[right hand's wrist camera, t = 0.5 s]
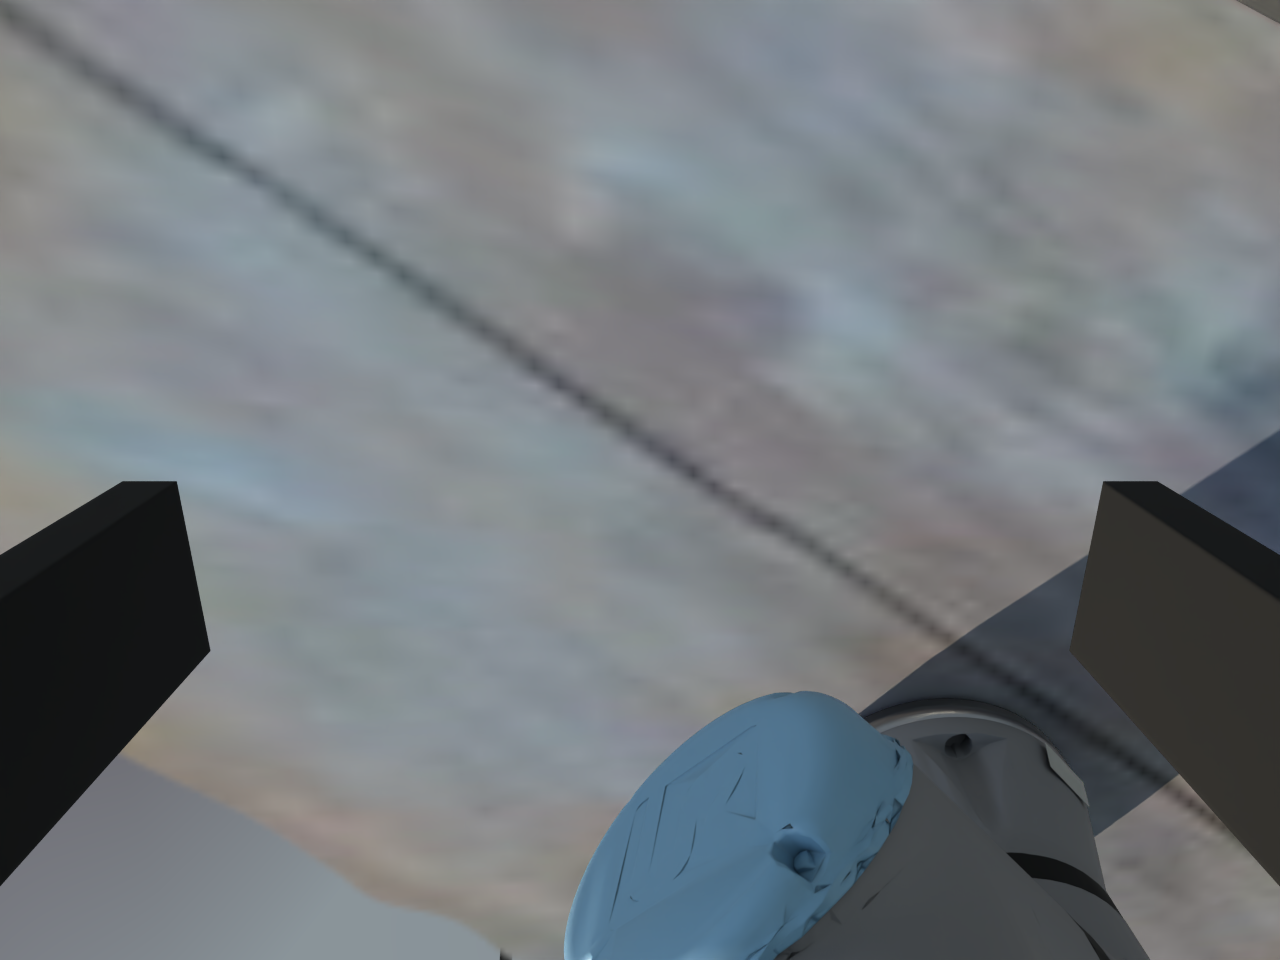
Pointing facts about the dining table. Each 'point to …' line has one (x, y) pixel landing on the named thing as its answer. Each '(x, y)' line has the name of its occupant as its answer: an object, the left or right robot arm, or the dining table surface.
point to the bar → (1265, 7)
